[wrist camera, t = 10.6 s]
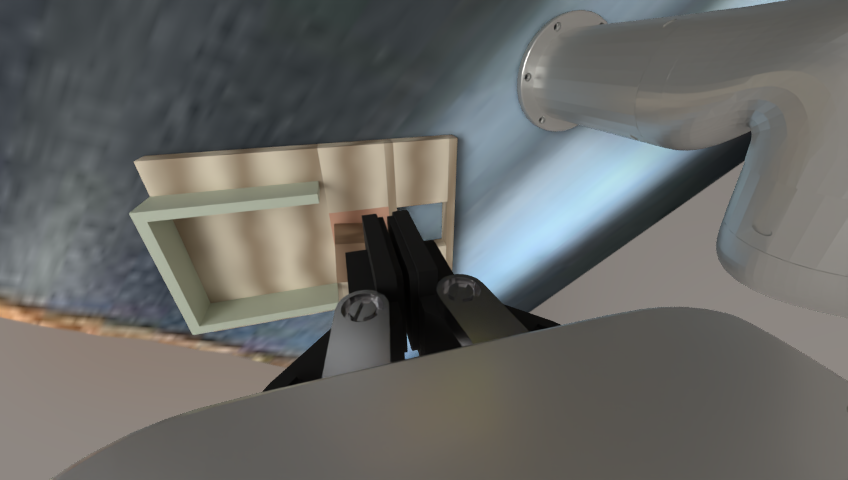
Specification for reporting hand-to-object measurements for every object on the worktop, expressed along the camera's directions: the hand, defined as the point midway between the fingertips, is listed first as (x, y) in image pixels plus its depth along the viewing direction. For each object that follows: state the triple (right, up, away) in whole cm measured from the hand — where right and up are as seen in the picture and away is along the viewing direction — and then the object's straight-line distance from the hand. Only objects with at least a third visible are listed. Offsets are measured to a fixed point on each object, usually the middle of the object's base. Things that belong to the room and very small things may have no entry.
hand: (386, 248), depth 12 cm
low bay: (-18, -1, +25) cm, 31 cm away
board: (-11, +1, +28) cm, 30 cm away
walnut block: (-7, 0, +28) cm, 29 cm away
